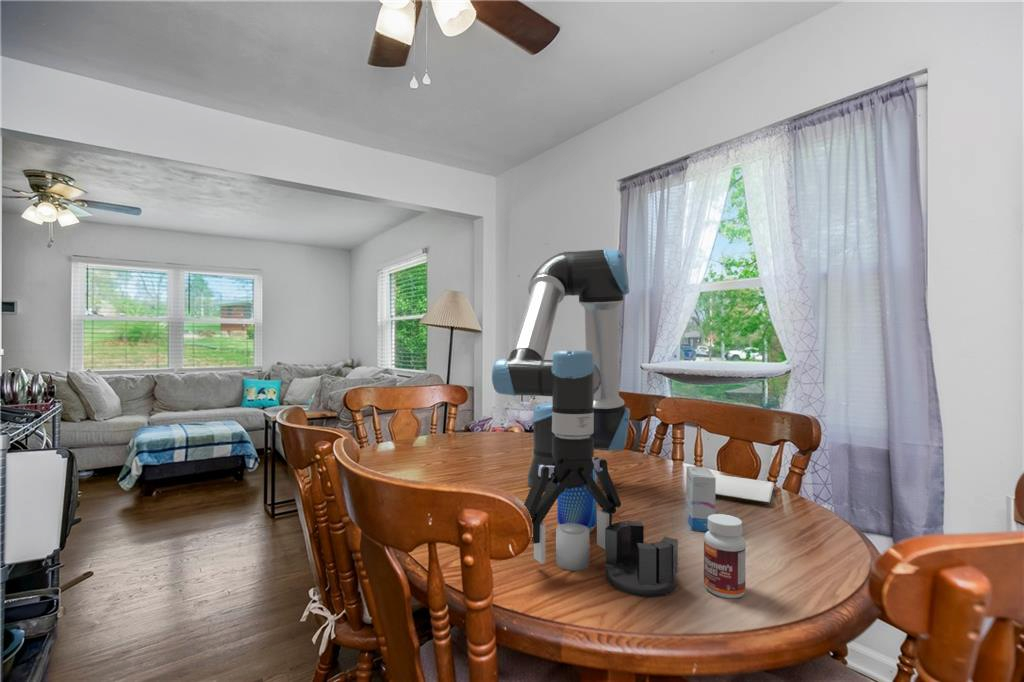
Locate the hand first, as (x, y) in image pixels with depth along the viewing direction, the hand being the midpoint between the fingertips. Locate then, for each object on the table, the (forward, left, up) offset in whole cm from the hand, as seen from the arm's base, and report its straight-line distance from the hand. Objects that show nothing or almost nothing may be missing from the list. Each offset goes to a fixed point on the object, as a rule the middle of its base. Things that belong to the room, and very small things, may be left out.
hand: (572, 553), depth 85 cm
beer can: (-14, +10, -2) cm, 17 cm away
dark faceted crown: (+10, +7, -2) cm, 12 cm away
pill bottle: (+18, +17, -2) cm, 25 cm away
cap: (0, 0, -2) cm, 2 cm away
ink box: (-3, +36, -2) cm, 36 cm away
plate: (-16, +62, -2) cm, 64 cm away
